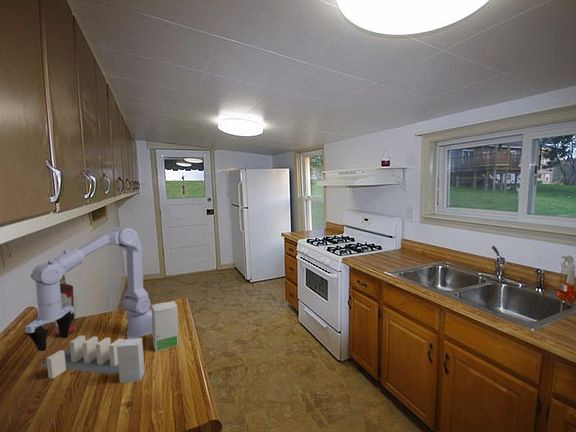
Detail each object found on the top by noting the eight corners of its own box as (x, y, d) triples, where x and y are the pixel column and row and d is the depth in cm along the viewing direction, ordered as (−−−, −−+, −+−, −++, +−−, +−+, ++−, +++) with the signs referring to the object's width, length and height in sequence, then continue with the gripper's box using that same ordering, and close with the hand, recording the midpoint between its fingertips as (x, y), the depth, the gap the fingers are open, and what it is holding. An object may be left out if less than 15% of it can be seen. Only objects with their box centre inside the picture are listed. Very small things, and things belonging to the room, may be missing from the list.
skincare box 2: (155, 353, 104) (152, 311, 102) (152, 344, 109) (150, 304, 108) (179, 346, 108) (177, 305, 107) (176, 338, 114) (174, 299, 112)
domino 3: (84, 362, 97) (82, 343, 97) (95, 355, 102) (93, 336, 101) (88, 363, 97) (86, 343, 96) (99, 355, 101) (97, 336, 101)
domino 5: (110, 365, 96) (109, 345, 95) (120, 358, 100) (119, 338, 99) (114, 366, 95) (113, 345, 95) (124, 358, 100) (123, 338, 99)
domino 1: (48, 379, 90) (46, 358, 89) (61, 370, 94) (60, 350, 94) (53, 380, 90) (51, 358, 89) (66, 371, 94) (64, 350, 93)
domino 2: (71, 361, 98) (69, 341, 98) (82, 354, 103) (81, 335, 102) (75, 362, 98) (73, 342, 97) (86, 354, 102) (85, 335, 102)
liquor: (52, 340, 114) (46, 269, 111) (56, 332, 120) (49, 265, 117) (75, 335, 117) (69, 267, 114) (78, 327, 124) (72, 263, 121)
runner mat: (39, 367, 96) (39, 366, 96) (72, 347, 108) (72, 346, 108) (114, 375, 91) (114, 374, 91) (140, 354, 103) (140, 353, 103)
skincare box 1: (145, 373, 92) (142, 337, 91) (140, 382, 88) (138, 344, 87) (124, 375, 91) (121, 339, 90) (119, 384, 87) (116, 346, 86)
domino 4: (97, 364, 97) (95, 344, 96) (107, 356, 101) (106, 337, 100) (101, 364, 96) (99, 344, 96) (111, 357, 101) (110, 337, 100)
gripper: (59, 293, 98) (62, 331, 100) (13, 311, 84) (18, 356, 85) (78, 293, 97) (81, 332, 99) (35, 312, 83) (40, 357, 84)
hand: (53, 343), depth 92 cm, fingers open, 7 cm apart
